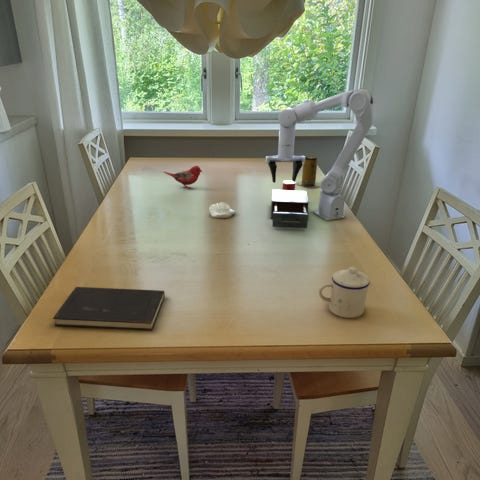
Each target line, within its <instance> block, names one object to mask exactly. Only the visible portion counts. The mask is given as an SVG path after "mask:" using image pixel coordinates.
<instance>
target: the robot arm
mask: <svg viewBox="0 0 480 480" xmlns="http://www.w3.org/2000/svg"><path fill="white" fill-rule="evenodd" d="M374 104H375V100H374V97H373V94H372V92H371V91H370V89H368V88H367V87H360V88H358V89H351V90H346V91H343V92H339V93H337V94H335V95H332V96H329V97H327V98H324V99H322V100H319V101H314V100H312V99H310V100H309V99H304V100H303V102H301V103H298V104H296V105H295V104H291V105H290V107H286V108H284V109H283V110H281V111H280V112H279V113H278V117H277V120H278V123H279V131H278V146H277V154H276V155H266V156H265V163H266V164H267V165H268V167H269V170H270V173H271V179H272V181H271V182H272V183H274V184H275V183H276V181H277V169H278V168H277V167H278V165H277V163H292V175H291V181H293V182H295V183H296V180H297V178H298V174H299V173H300V170H301V169H302V168H303V164H304V162H305V157H306V156H305V155H295V154H294V153H295V139H296V123H298V124H299V123H302V122H306V121H309V120H311V119H315V118H316V117H317V116H318V114H319V112H323V111H326V110H329V109H333V108H336V107H338V106H341V107H343V108H346V109H348V108H349V109H350V110H351V111H352V113H353V114H354V116H355V120H356V122H357V123H356V125H355V126H354V129H353V130H352V131H351V134H350V135H349V137H348V139H347V141H346V143H345V145H344V146H343V148H342V150H341V152H340V153H339V155H338V157H337V158H336V161H335V162H334V164H333V166H332V167H331V169H330V170H329V171H328V172H327V173H326V174H325V176H324V177H323V178H322V179H321V181H320V184H319V185H320V186H319V187H320V191H319V192H320V193H319V201H318V209H317V210H313V214H315V215H317V216H318V217H320V218H322V219H323V220H324V221H332V220H339V219H344V218H345V216H344V208H345V199H344V197H343V196H342V195H341V189H340V187H339V186H341V184H342V183H343V176H344V174H345V172H346V170H347V168H348V167H349V165H350V163H351V161H352V160H353V158H354V156H355V155H356V153H357V152H358V150H359V148H360V146H361V145H362V143H363V141H364V140H365V138H366V136H367V134H368V133H369V131H370V130H371V127H372V126H373V124H374Z"/></svg>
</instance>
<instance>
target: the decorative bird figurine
mask: <svg viewBox="0 0 480 480" xmlns="http://www.w3.org/2000/svg"><path fill="white" fill-rule="evenodd" d="M163 173H164V174H165V175H168V176H170V177H172V178H173V179H174V180H175V181H176V182H178V183H180V184H182V185H183V189H187V190H188V189H189V190H191V189H192V185H193V184H195V183H196V182H197V181H198V179H199V176H200V175H201V173H203V170H202V169H201V167H200V166H199V165H194V166H192V167H190V169H187V170H183V171H178V172H175V173H172V172H167V171H163ZM190 185H191V186H190Z"/></svg>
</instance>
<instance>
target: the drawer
mask: <svg viewBox="0 0 480 480" xmlns="http://www.w3.org/2000/svg"><path fill="white" fill-rule="evenodd" d="M308 222H309V213H306V207H305V204H292V203H275V205H274V212H273V219H272V228H287V229H308Z"/></svg>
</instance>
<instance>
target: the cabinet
mask: <svg viewBox="0 0 480 480" xmlns="http://www.w3.org/2000/svg"><path fill="white" fill-rule="evenodd" d="M275 203H292V204H305V207H306V213H308V212H309V197H308V192H307V190H297V189H295V190H282V189H272V190H271V201H270V220H273V212H274V205H275ZM308 214H309V213H308Z"/></svg>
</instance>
